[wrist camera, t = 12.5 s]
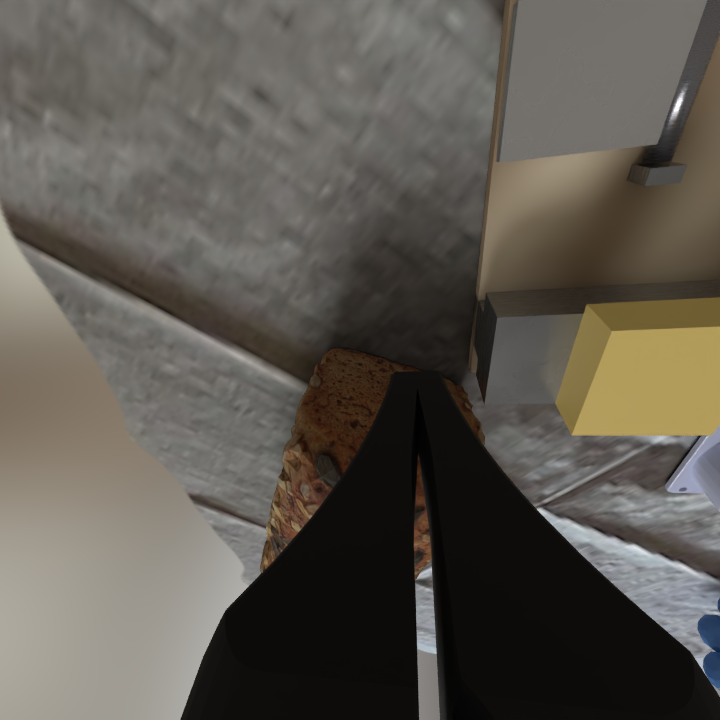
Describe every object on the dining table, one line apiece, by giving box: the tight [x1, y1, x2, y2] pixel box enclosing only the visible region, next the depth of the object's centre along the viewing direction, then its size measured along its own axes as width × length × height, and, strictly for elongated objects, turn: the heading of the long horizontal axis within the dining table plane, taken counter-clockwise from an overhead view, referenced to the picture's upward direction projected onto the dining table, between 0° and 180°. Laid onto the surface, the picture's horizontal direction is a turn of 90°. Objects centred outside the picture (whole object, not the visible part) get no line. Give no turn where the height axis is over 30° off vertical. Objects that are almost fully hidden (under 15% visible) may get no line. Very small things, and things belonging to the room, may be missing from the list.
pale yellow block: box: [555, 297, 720, 435], centre depth 15 cm, size 5×5×6 cm
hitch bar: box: [471, 162, 720, 405], centre depth 13 cm, size 13×16×5 cm
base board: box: [468, 0, 720, 373], centre depth 15 cm, size 12×17×1 cm
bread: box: [260, 348, 485, 579], centre depth 23 cm, size 19×11×10 cm, turn 164°
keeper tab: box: [496, 0, 720, 163], centre depth 12 cm, size 6×6×1 cm
